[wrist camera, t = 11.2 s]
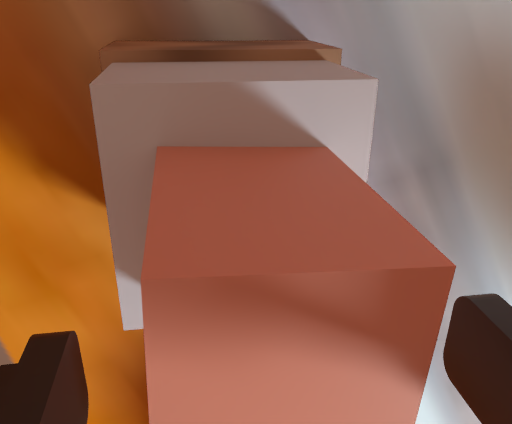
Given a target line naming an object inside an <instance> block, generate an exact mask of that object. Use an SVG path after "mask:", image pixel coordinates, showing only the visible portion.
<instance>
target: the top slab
mask: <svg viewBox="0 0 512 424" xmlns="http://www.w3.org/2000/svg"><path fill="white" fill-rule="evenodd" d="M378 81H379V79H377V78H374V77H371V76H369V75H366V74H363V73H360V72H358V71H355V70H352V69H349V68H346V67H344V66H341V65H338V64H335V63H333V62H330V61H327V60H298V61H213V62H127V63H111V64H110V65H109V66H108V67H107V68H106V69H105V70H104V71H103V72H102V73H101V74H100V75H99V76H98V77H97V78H95V79H94V80H93V81H92V82H91V83H90V84H89V87H90V94H91V101H92V108H93V116H94V123H95V130H96V137H97V144H98V151H99V158H100V165H101V172H102V179H103V187H104V194H105V201H106V208H107V215H108V222H109V229H110V236H111V243H112V251H113V258H114V265H115V272H116V279H117V286H118V293H119V300H120V307H121V314H122V322H123V329H124V330H135V329H143V312H142V296H141V272H142V264H143V256H144V248H145V240H146V232H147V224H148V216H149V208H150V200H151V192H152V184H153V176H154V168H155V160H156V152H157V146H191V147H328V148H329V149H330V150H331V151H332V152H333V153H334V154H335V155H336V156H337V157H338V158H340V159H341V160H342V161H343V162H344V163H345V164H346V165H347V166H348V167H349V168H350V169H351V170H353V171H354V172H355V173H356V174H357V175H358V176H359V177H360V178H361V179H362V180H363V181H364V182H366V183H367V177H368V168H369V160H370V151H371V142H372V133H373V125H374V116H375V107H376V98H377V89H378Z"/></svg>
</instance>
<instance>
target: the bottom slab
mask: <svg viewBox="0 0 512 424" xmlns="http://www.w3.org/2000/svg"><path fill="white" fill-rule="evenodd" d="M341 54H342V49H341V48H337V47H333V46H329V45H325V44H321V43H317V42H313V41H310V40H255V41H114V42H112V43H111V44H109V45H107V46H106V47H104V48H102V49H101V50H99V55H100V63H101V71H102V72H103V71H104V70H105V69H106V68H107V67H108V66H109V65H110V64H111V63H127V62H213V61H298V60H327V61H330V62H333V63H335V64H338V65H341Z"/></svg>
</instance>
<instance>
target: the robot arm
mask: <svg viewBox="0 0 512 424" xmlns="http://www.w3.org/2000/svg"><path fill="white" fill-rule="evenodd" d="M443 359H444V366H445V369H446V372H447V375H448V377H449V379H450V381H451V382H452V384H453V385H454V386H455V388H456V389H457V390H458V392H459V393H460V394H461V396H462V397H463V399H464V400H465V401H466V403H467V404H468V405H469V407H470V408H471V409H472V411H473V412H474V414H475V415H476V416H477V418H478V419H479V420H480V422H481V423H482V424H512V306H510V305H509V304H508V303H507V302H506V301H505V300H504V299H503V298H501V297H500V296H499V295H497V294H482V295H471V296H461V297H459V298H457V300H456V301H455V303H454V306H453V311H452V316H451V320H450V325H449V329H448V334H447V338H446V343H445V347H444V353H443ZM87 418H88V390H87V384H86V379H85V374H84V368H83V363H82V358H81V353H80V348H79V342H78V338H77V335H76V333H75V331H65V332H54V333H43V334H34V335H32V336H31V337H30V339H29V340H28V343H27V345H26V347H25V349H24V352H23V354H22V356H21V358H20V360H19V363H18V364H9V365H8V364H7V365H1V366H0V424H87Z"/></svg>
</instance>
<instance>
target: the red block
mask: <svg viewBox="0 0 512 424" xmlns="http://www.w3.org/2000/svg"><path fill="white" fill-rule="evenodd" d="M455 268H456V266H455V265H454V264H453V263H452V262H451V261H450V260H449V259H448V258H447V257H446V256H445V255H443V254H442V253H441V252H440V251H439V250H438V249H437V248H436V247H435V246H434V245H433V244H432V243H430V242H429V241H428V240H427V239H426V238H425V237H424V236H423V235H422V234H421V233H420V232H419V231H417V230H416V229H415V228H414V227H413V226H412V225H411V224H410V223H409V222H408V221H407V220H406V219H405V218H403V217H402V216H401V215H400V214H399V213H398V212H397V211H396V210H395V209H394V208H393V207H392V206H390V205H389V204H388V203H387V202H386V201H385V200H384V199H383V198H382V197H381V196H380V195H379V194H377V193H376V192H375V191H374V190H373V189H372V188H371V187H370V186H369V185H368V184H367V183H366V182H364V181H363V180H362V179H361V178H360V177H359V176H358V175H357V174H356V173H355V172H354V171H353V170H351V169H350V168H349V167H348V166H347V165H346V164H345V163H344V162H343V161H342V160H341V159H340V158H338V157H337V156H336V155H335V154H334V153H333V152H332V151H331V150H330V149H329V148H328V147H191V146H157V152H156V160H155V168H154V176H153V184H152V192H151V200H150V208H149V216H148V224H147V232H146V240H145V248H144V256H143V264H142V272H141V296H142V312H143V329H144V345H145V361H146V378H147V394H148V410H149V424H415V421H416V417H417V414H418V410H419V406H420V402H421V398H422V395H423V391H424V387H425V383H426V379H427V375H428V372H429V368H430V364H431V360H432V356H433V353H434V349H435V345H436V341H437V337H438V333H439V330H440V326H441V322H442V318H443V314H444V310H445V307H446V303H447V299H448V295H449V291H450V288H451V284H452V280H453V276H454V272H455Z"/></svg>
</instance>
